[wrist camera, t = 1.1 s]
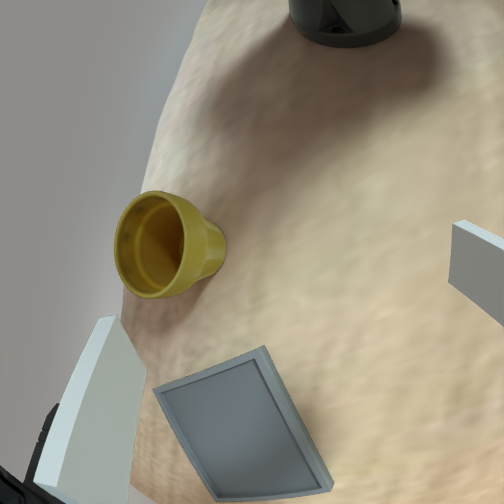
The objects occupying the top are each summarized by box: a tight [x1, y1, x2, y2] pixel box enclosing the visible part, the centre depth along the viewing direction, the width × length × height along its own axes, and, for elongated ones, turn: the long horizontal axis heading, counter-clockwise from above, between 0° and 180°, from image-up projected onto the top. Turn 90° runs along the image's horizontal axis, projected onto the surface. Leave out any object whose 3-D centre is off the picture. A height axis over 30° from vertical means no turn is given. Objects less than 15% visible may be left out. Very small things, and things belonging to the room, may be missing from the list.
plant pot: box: [114, 191, 226, 299], centre depth 31 cm, size 10×10×10 cm
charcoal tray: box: [153, 345, 334, 502], centre depth 31 cm, size 20×18×2 cm
